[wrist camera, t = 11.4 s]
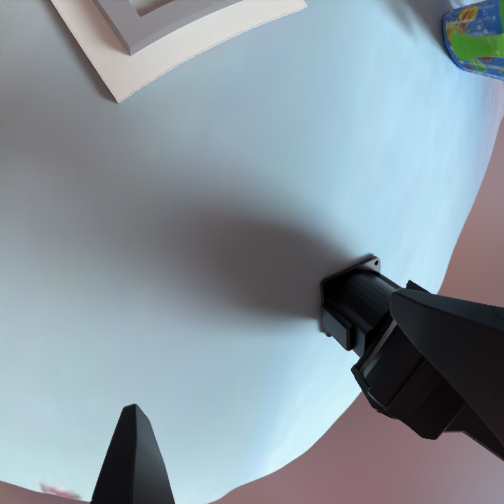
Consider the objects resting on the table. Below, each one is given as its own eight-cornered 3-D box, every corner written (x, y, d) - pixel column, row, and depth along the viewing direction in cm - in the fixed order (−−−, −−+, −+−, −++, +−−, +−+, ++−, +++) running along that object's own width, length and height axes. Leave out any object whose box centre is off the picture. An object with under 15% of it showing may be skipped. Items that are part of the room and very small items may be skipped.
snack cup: (433, 91, 23) (522, 101, 14) (404, -7, 18) (491, -22, 9) (490, 79, 26) (554, 88, 17) (471, 6, 21) (536, 5, 12)
